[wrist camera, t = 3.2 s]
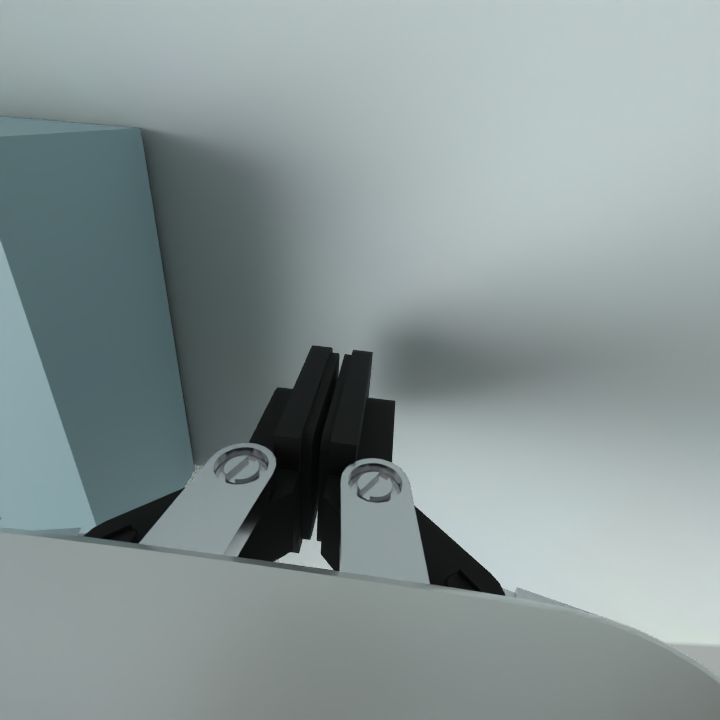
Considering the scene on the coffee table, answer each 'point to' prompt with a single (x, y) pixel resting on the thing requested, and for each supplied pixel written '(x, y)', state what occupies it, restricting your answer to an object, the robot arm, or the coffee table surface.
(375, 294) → the coffee table surface
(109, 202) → the socket block
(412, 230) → the coffee table surface
